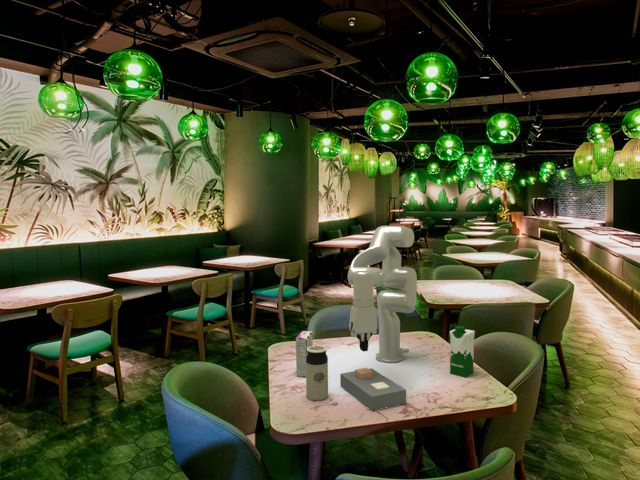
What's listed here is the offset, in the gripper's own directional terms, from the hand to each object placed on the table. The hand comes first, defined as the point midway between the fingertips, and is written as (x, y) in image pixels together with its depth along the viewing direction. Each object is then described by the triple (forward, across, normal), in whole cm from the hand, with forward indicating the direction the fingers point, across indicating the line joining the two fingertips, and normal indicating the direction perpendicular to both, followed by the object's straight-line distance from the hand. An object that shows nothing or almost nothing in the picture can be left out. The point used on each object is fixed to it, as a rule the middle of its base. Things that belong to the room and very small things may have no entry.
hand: (364, 350), depth 172 cm
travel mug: (+15, +20, 0) cm, 25 cm away
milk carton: (+16, -44, +4) cm, 47 cm away
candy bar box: (+15, +15, -26) cm, 33 cm away
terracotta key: (+13, +1, 0) cm, 13 cm away
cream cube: (+14, +1, +12) cm, 19 cm away
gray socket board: (+15, 0, +6) cm, 16 cm away
